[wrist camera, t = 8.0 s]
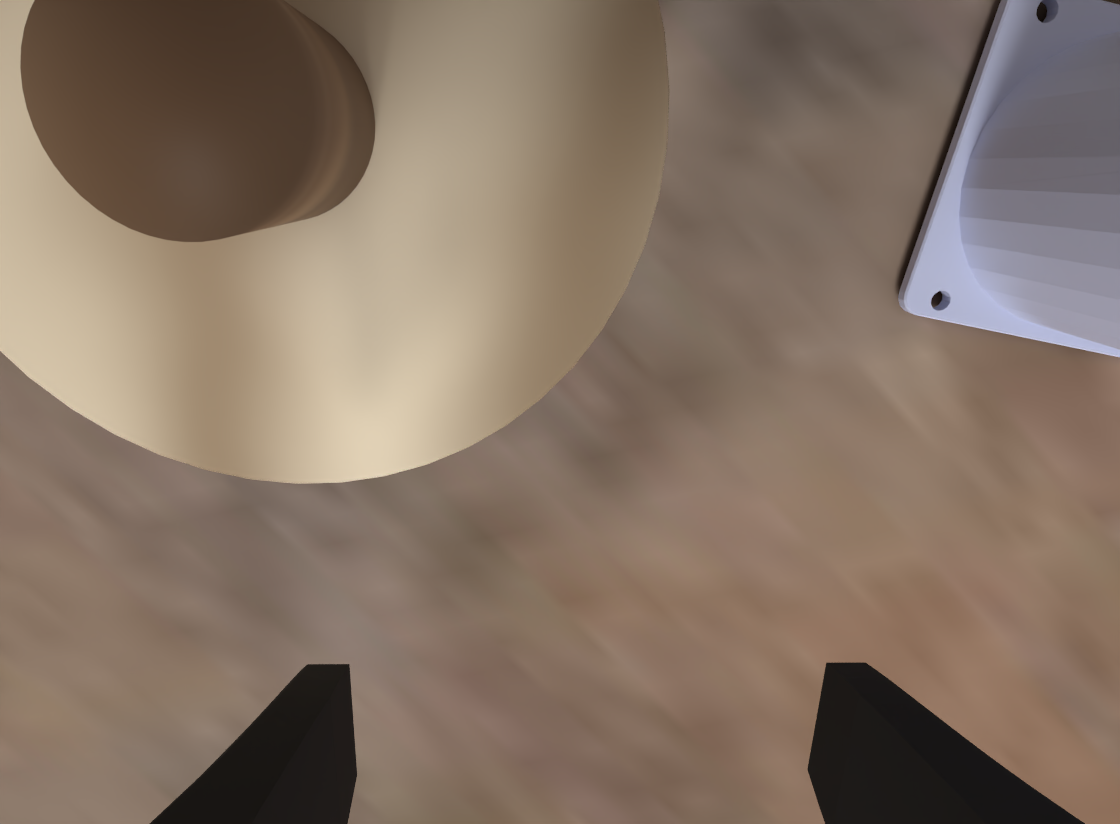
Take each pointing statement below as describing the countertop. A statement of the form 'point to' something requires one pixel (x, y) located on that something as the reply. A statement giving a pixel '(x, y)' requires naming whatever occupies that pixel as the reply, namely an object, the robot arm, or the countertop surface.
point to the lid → (320, 216)
